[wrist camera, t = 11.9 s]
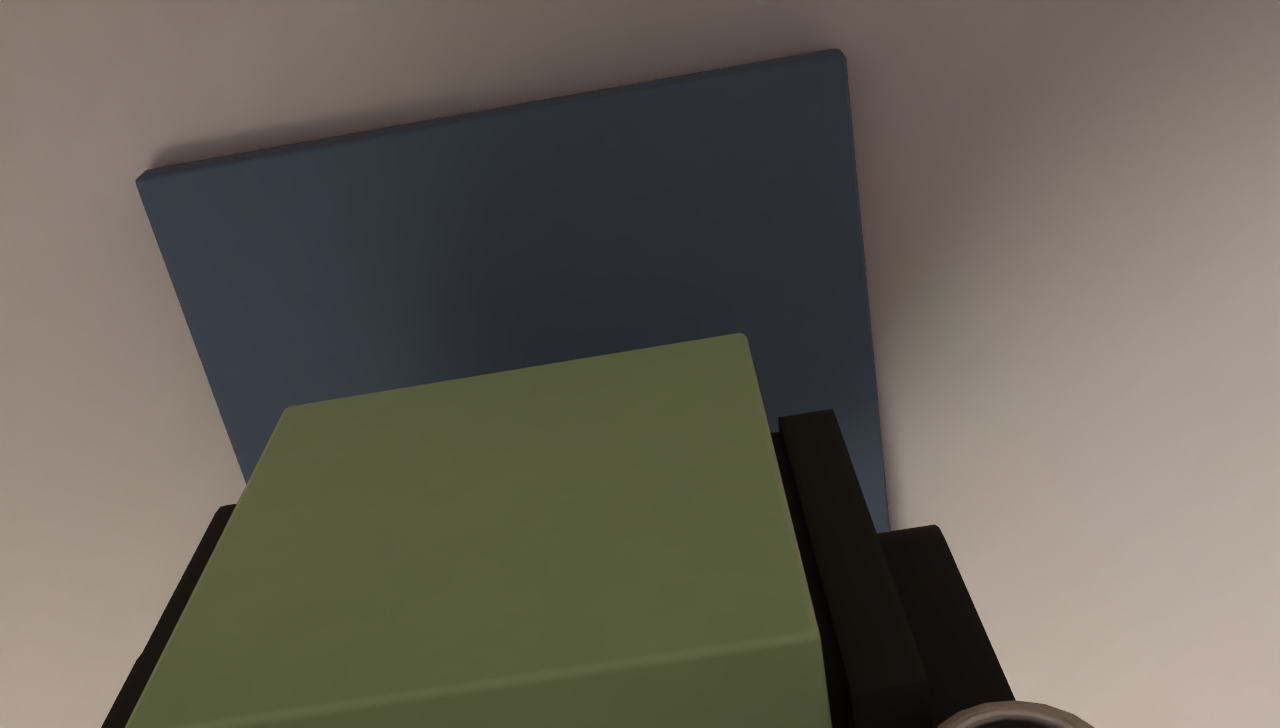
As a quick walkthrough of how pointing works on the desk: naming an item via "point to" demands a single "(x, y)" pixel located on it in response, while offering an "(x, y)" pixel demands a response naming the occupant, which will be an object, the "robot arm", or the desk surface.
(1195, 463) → the desk surface
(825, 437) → the robot arm
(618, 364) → the top block
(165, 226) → the coaster
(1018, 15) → the desk surface
